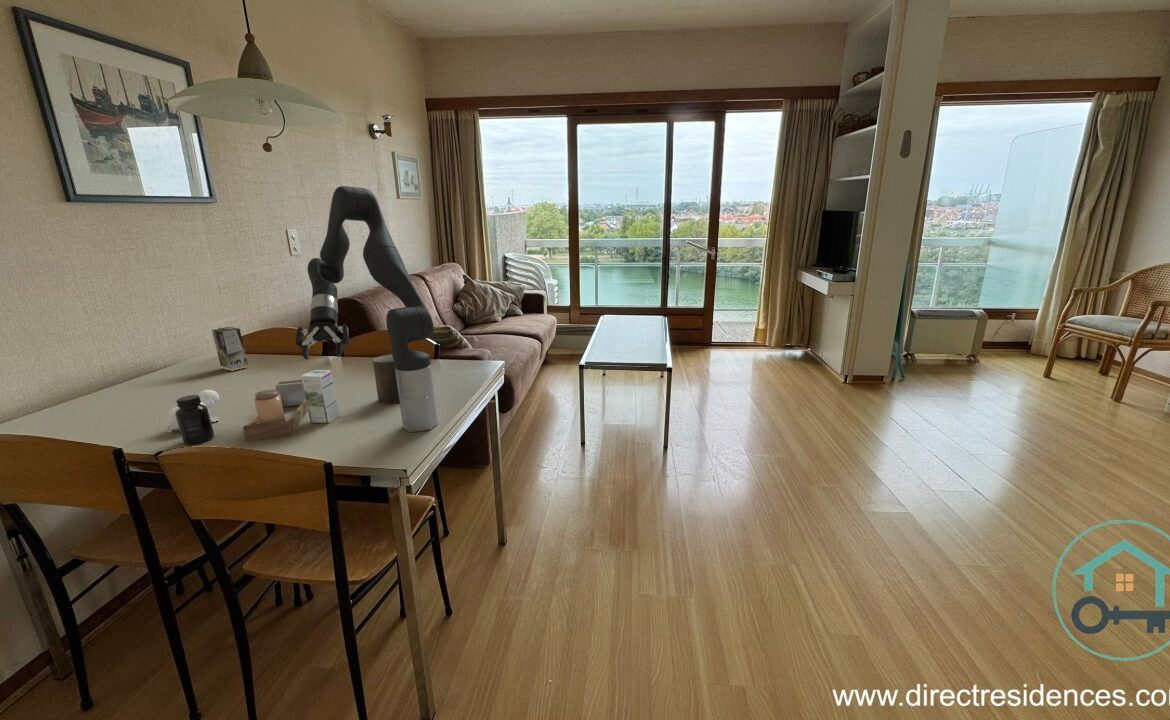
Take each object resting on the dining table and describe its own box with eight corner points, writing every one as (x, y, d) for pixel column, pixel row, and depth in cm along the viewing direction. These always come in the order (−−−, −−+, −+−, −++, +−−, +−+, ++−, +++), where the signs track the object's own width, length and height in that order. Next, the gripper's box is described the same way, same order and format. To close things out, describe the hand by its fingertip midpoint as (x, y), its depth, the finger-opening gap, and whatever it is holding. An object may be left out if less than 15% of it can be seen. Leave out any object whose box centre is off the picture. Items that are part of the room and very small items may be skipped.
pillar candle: (405, 403, 154) (399, 357, 150) (373, 404, 154) (367, 358, 150) (414, 393, 163) (408, 349, 159) (384, 394, 163) (378, 350, 159)
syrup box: (340, 416, 146) (332, 369, 141) (328, 424, 140) (319, 375, 136) (322, 415, 146) (313, 369, 142) (309, 423, 140) (300, 375, 136)
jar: (283, 433, 134) (275, 395, 131) (258, 436, 133) (249, 397, 130) (289, 425, 140) (282, 388, 137) (266, 427, 138) (257, 390, 135)
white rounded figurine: (198, 442, 137) (234, 405, 149) (180, 420, 132) (219, 384, 144) (171, 441, 139) (210, 404, 150) (153, 419, 134) (194, 383, 145)
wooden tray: (290, 435, 133) (286, 414, 131) (246, 440, 130) (241, 419, 129) (318, 395, 163) (315, 378, 161) (283, 399, 160) (279, 381, 159)
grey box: (307, 404, 155) (303, 383, 153) (279, 407, 153) (275, 385, 151) (312, 397, 161) (308, 376, 159) (285, 399, 159) (281, 379, 157)
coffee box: (249, 367, 196) (240, 328, 192) (231, 372, 191) (221, 331, 187) (238, 364, 201) (229, 326, 196) (220, 369, 196) (211, 329, 191)
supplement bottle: (220, 433, 135) (210, 392, 132) (203, 445, 129) (191, 402, 125) (195, 434, 135) (184, 393, 132) (176, 446, 128) (164, 403, 125)
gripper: (294, 306, 149) (291, 352, 141) (346, 303, 152) (345, 348, 145) (302, 320, 155) (299, 365, 148) (351, 317, 159) (351, 360, 151)
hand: (322, 356), depth 146 cm, fingers open, 8 cm apart
